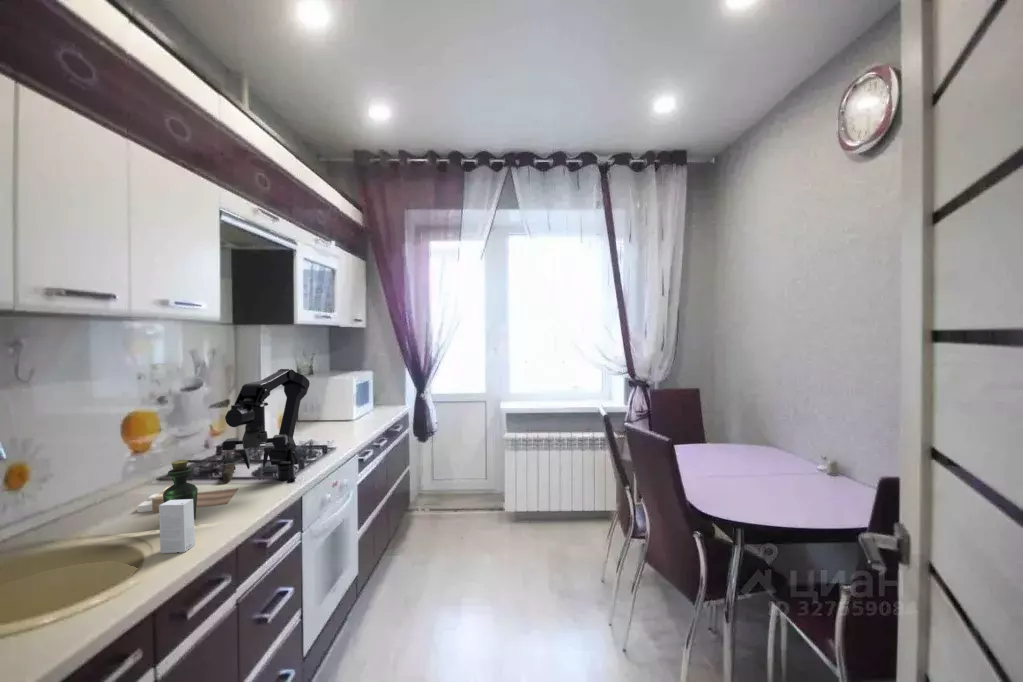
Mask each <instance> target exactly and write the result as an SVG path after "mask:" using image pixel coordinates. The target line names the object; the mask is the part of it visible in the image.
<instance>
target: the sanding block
mask: <svg viewBox="0 0 1023 682" xmlns="http://www.w3.org/2000/svg"><path fill="white" fill-rule="evenodd" d="M172 485H173V484H171V485H168V486H166V487H165V488H164V489H163V490H161V492H159V493H157V494H158V495H157V496H156V497H155V498H153V499H152V510H153V511H152V513H154V512H159V505H161V504H163V503H164V500H163V493H164V491H165V490H166V489H168V488H169V487H171V486H172Z"/></svg>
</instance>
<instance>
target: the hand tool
mask: <svg viewBox="0 0 1023 682" xmlns="http://www.w3.org/2000/svg"><path fill="white" fill-rule="evenodd" d="M234 470H236V465H235V463H227V464H225V465H224V466H223V471H222V473H223V474H222V479H223V480H222V481H223V483H224V484H229V483H231V481H232V478H233V475H234V474H233V473H235V472H234Z"/></svg>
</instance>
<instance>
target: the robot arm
mask: <svg viewBox="0 0 1023 682" xmlns="http://www.w3.org/2000/svg"><path fill="white" fill-rule="evenodd" d="M310 384H311V383H310V380H309V378H307V377H306V376H305V375H303V374H301V373H298V372H296V371H295V370H294V369H292V368H280V369H278V370H277V371H276V372H274V373H272V374H270V375H268V376H266V377H265V378H263V379H261V380H259V381H251V382H247V383H244V384H243V385H242V386H241V389H240V391H239V393H238V395H237V398H236V400H235V403H234V404H233V405H231V406H230V409H229V410H228V411H227V413H226V414H225V419H224V420H225V422H226V424H227V425H228V426H229V427H230V428H237V427H241V426H244V425H245V426H244V427H245V428H244V433H243V437H242V439H241V440H240V438H239V437H233V438H226V439H225V440H224V441H222V443H221V451H232V450H234V452H235V453H239V455H240V456H241V457H242V459H243V461H244V464H245V466H246V469H248V470H249V469H251V461H250V459H251V458H250V452H249V451H250V448H252V449H254V448H255V449H257V448H259V447H261V445H264V447H263V460H262V467H263V468H265V467H266V464H267V461H268V459H269V462H270V465H271V466H276V471H277V474H276V476H277V478H276V479H277V480H278V481H280V482H286V483H292V482H291V481H294V482H296V480H295V479H297V477H295V476H296V474H295V465H299V463H300V462H301V455H300V454H299V452H297V450H296V449H297V445H296V442H295V439H294V434H295V429H296V426H297V425H296V424H297V420H298V415H299V409H300V404H301V401H302V400H303V398H305V396H306V395H307V394H308V391H309V387H310ZM280 386H282V387H283V392H284V395H285V397H286V399H285V403H284V404H285V405H284V410H283V414H282V419H281V422H280V423H281V424H280V427H279V432H278V434H274V435H273V437H268V432H267V430H266V417H265V416H266V414H265V412H266V411H265V407H266V406H267V407H268V405H269V403H268V401H266V399H267V398H268V397H269V396H270V395H271V392H272V391H273V390H274V389H276V388H278V387H280Z"/></svg>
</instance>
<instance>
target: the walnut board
mask: <svg viewBox="0 0 1023 682" xmlns="http://www.w3.org/2000/svg"><path fill="white" fill-rule="evenodd" d="M238 490H239V488H231V489H229V488H228V489H222V490H221V489H220V490H211V491H201V492H197V505H196V509H197V508H203V507H204V508H205V507H213V506H215V507H216V506H223V505H228V504H229V502H230V501H231V500H232V498H233V497H234V496H235V494H236V493H237V492H238Z"/></svg>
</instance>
